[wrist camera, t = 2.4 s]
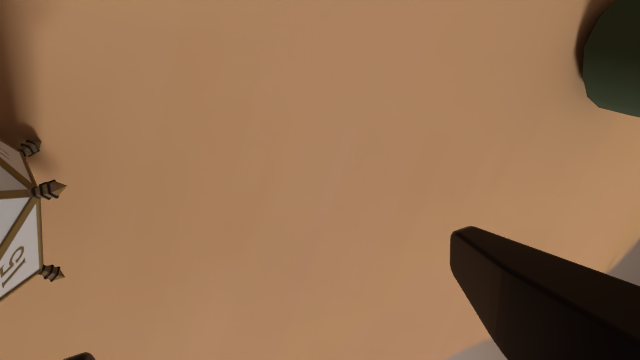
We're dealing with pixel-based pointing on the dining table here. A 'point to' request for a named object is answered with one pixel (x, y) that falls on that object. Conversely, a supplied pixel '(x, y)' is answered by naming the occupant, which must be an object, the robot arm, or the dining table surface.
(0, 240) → the game die
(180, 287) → the dining table surface
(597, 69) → the character mug
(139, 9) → the dining table surface
